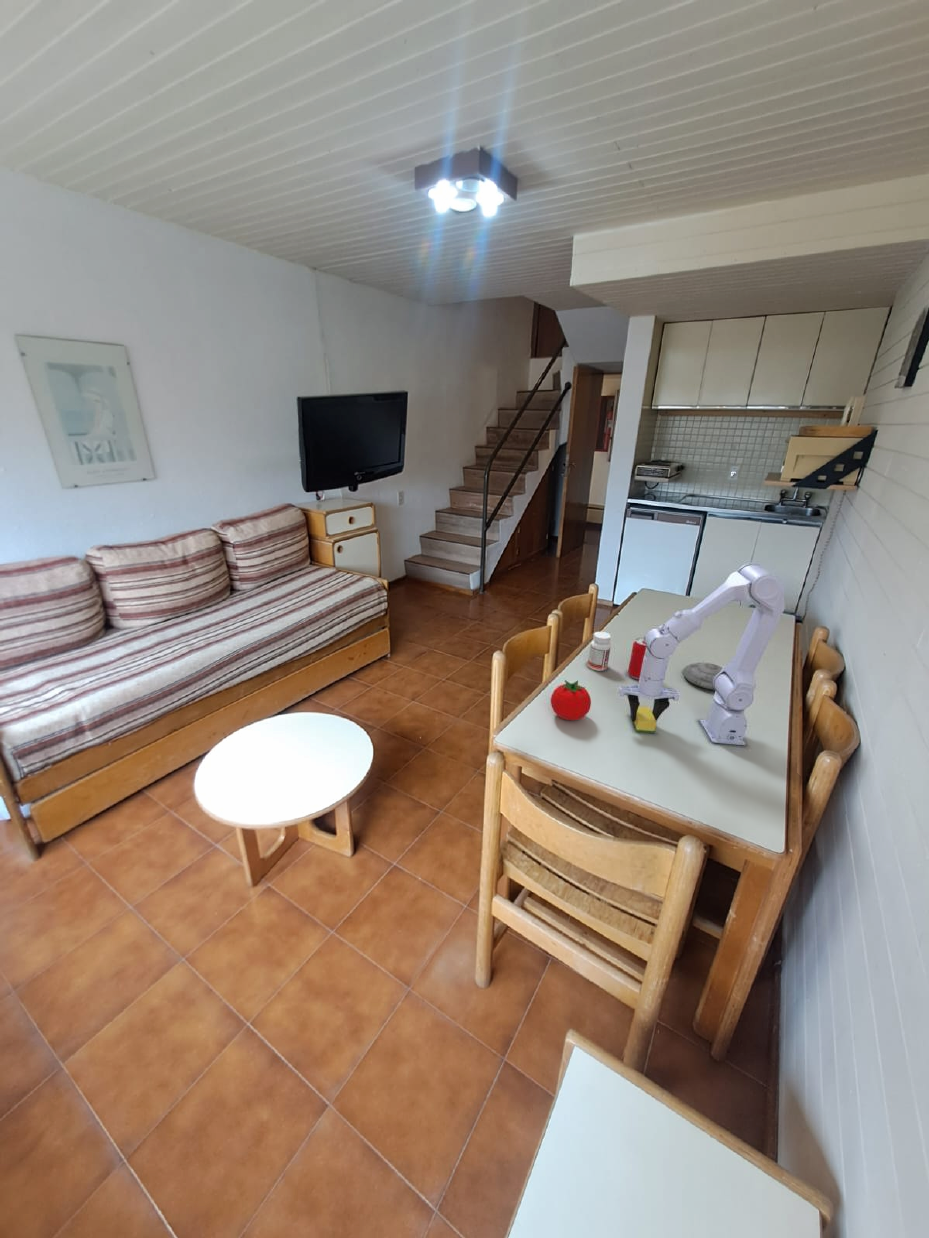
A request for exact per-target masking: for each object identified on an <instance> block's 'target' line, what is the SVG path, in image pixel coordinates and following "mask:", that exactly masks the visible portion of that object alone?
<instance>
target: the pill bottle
mask: <svg viewBox="0 0 929 1238" xmlns="http://www.w3.org/2000/svg"><path fill="white" fill-rule="evenodd" d="M611 648H612V645H611V634H610V633H608V632H604V631H595V632H594V633H593V637H592V641H590V647H589V652H588V658H587V659H588V660H587V666H588V668H590V669H591V670H593V671H598V672H602V671H605V670H607V669H608V665H609V659H610V653H611Z"/></svg>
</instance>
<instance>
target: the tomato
mask: <svg viewBox="0 0 929 1238" xmlns="http://www.w3.org/2000/svg"><path fill="white" fill-rule="evenodd" d="M564 682H565V683H563V684H560V685H558V686H557V687H556V688H555V689H554V690H553V692H552V694H551V696H550V705H551V708H552V710H553V712H554V713H555V715H557V716H558V717H559V718H561V719H563V720H566V721H578V720H580V719H583V718H584V717H586V715H588V713H590V710H591V707H592V700H591V696H590V693H589V692H588V690H587V689H586V686H585V687H584V686H582V685H579V680H576V681H575V682H573V683H570V682H569V681H567V680H566V679H564Z"/></svg>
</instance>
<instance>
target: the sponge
mask: <svg viewBox="0 0 929 1238" xmlns="http://www.w3.org/2000/svg"><path fill="white" fill-rule="evenodd" d="M652 711H653V710H652V709H651V707H650V706H640V705H639V707H638V710H637V714H636V720H635V722H632V724H633V727H634V729H635V732H636V733H642V734H643V733H644V734H655V731H656V726H657V721H656V720H655V718H654V716H653V713H652Z"/></svg>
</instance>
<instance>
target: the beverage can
mask: <svg viewBox="0 0 929 1238" xmlns="http://www.w3.org/2000/svg"><path fill="white" fill-rule="evenodd" d="M646 647H647V645H646V644H645V642H644V637H636V638H635V640H634V641H633V643H632V648H631V653H630V657H629V658H630V659H629V663H628V669H627V673H628V675H629V676H630V677H632V678H633V679H635V680H639V679H640V674H641V668H642V663H643V658H644V655H645V650H646Z"/></svg>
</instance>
